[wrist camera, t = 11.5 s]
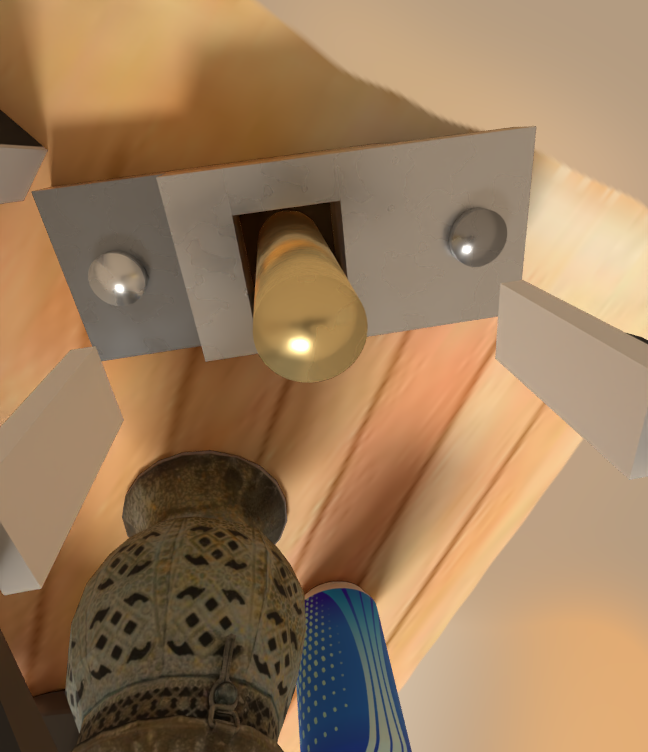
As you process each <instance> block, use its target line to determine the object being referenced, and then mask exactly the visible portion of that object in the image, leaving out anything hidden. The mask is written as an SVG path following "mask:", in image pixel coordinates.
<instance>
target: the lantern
mask: <svg viewBox="0 0 648 752" xmlns="http://www.w3.org/2000/svg"><path fill="white" fill-rule="evenodd" d="M122 518H123V522H124V525H125V529H126V532H127V536H128V537H129V539H128V540H126V541H125V542H124V543H123V544H122V545H120V546H119V547H118V548H117V549H116V550H114V551H113V552H112V553H111V554H110V555H109V556H108V557H107V559H106V560H105V561H104V562H103V564H102V565H101V566H100V567H99V569H98V570H97V571H96V573H95V574H94V575H93V576H92V578H91V579H90V580H89V581H88V583H87V584H86V587H85V589H84V592H83V595H82V597H81V600H80V602H79V605H78V608H77V610H76V613H75V616H74V618H73V621H72V625H71V633H70V642H69V651H68V664H67V676H66V688H65V695H66V697H67V700H68V703H69V706H70V709H71V711H72V714H73V717H74V720H75V722H76V725H77V728H78V731H79V738H78V741H77V745H76V746H75V747H74V748H73V749H72V750H71V752H284V751H283V750H282V749H281V747H280V746H279V745H278V744H277V741H278V737H279V734H280V731H281V729H282V726H283V723H284V720H285V717H286V714H287V711H288V708H289V705H290V703H291V700H292V697H293V694H294V691H295V688H296V683H297V678H298V673H299V668H300V663H301V658H302V653H303V646H304V640H305V633H306V617H305V596H304V591H303V589H302V587H301V585H300V583H299V581H298V579H297V577H296V575H295V573H294V571H293V569H292V567H291V565H290V563H289V562H288V561H287V559H286V558H285V557H284V555H283V554H282V553H281V552H280V550H279V549H278V548H277V547H276V546H275V544H276V543H277V542H278V541H279V539H280V538H281V536H282V533H283V530H284V528H285V525H286V522H287V514H286V499H285V496H284V494H283V493H282V491H281V489H280V487H279V485H278V483H277V481H276V480H275V479H274V478H273V477H272V476H271V475H270V474H269V473H268V472H266V471H265V470H264V469H263V468H262V467H261V466H260V465H257V464H255V463H252V462H250V461H248V460H245V459H243V458H241V457H238V456H235V455H230V454H225V453H221V452H216V451H211V450H209V451H196V452H183V453H180V454H177V455H174V456H172V457H169V458H166V459H163V460H160V461H158V462H156V463H155V464H154V465H152V466H151V467H149V468H148V469H147V470H145V471H144V472H143V473H141V474H140V475H139V476H138V477H137V479H136V480H135V482H134V483H133V485H132V486H131V488H130V489H129V491H128V492H127V494H126V497H125V502H124V509H123V515H122Z"/></svg>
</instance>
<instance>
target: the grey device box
mask: <svg viewBox="0 0 648 752" xmlns="http://www.w3.org/2000/svg"><path fill="white" fill-rule="evenodd" d="M535 134H536V126H534V127H511V128H503V129H496V130H488V131H481V132H473V133H466V134H458V135H451V136H443V137H436V138H428V139H421V140H413V141H406V142H399V143H391V144H380V143H376V144H369V145H361V146H354V147H346V148H339V149H331V150H324V151H317V152H309V153H302V154H294V155H287V156H279V157H272V158H264V159H257V160H249V161H242V162H234V163H227V164H219V165H212V166H204V167H197V168H189V169H182V170H174V171H167V172H159V173H152V174H144V175H137V176H129V177H122V178H114V179H107V180H100V181H92V182H85V183H77V184H70V185H62V186H55V187H49V188H45V189H40V190H36V191H32V195H33V197H34V200H35V202H36V205H37V207H38V210H39V212H40V215H41V218H42V220H43V223H44V225H45V228H46V230H47V233H48V235H49V238H50V240H51V243H52V245H53V248H54V250H55V253H56V256H57V258H58V261H59V263H60V266H61V268H62V271H63V273H64V276H65V278H66V281H67V283H68V286H69V288H70V291H71V294H72V296H73V299H74V301H75V304H76V306H77V309H78V311H79V314H80V316H81V319H82V321H83V324H84V326H85V329H86V332H87V334H88V337H89V339H90V342H91V344H92V347H94V346H96V349H97V352H98V354H99V357H100V359H101V361H106V360H112V359H119V358H125V357H132V356H138V355H145V354H152V353H158V352H165V351H171V350H178V349H184V348H191V347H197V346H201V347H202V350H203V354H204V358H205V362H207V361H213V360H220V359H226V358H233V357H239V356H246V355H252V354H258V352H257V350H256V347H255V344H254V340H253V315H254V298H255V292H254V288H253V283H252V278H251V273H250V267H249V262H248V257H247V252H246V247H245V242H244V237H243V232H242V226H241V221H240V216H239V215H240V214H247V213H255V212H262V211H269V210H276V209H283V208H290V207H298V206H305V205H312V204H319V203H326V202H330V212H331V222H332V231H333V241H334V251H335V258H336V260H337V262H338V264H339V265H340V267H341V269H342V270H343V272H344V274H345V276H346V277H347V279H348V281H349V282H350V284H351V286H352V287H353V289H354V291H355V293H356V294H357V296H358V298H359V299H360V301H361V303H362V305H363V307H364V309H365V313H366V316H367V323H368V331H367V337H368V336H375V335H381V334H388V333H394V332H401V331H407V330H413V329H420V328H426V327H433V326H439V325H446V324H452V323H459V322H465V321H472V320H478V319H485V318H491V317H497V316H498V311H499V296H500V283H506V282H512V281H519V280H522V272H523V261H524V251H525V240H526V230H527V219H528V208H529V198H530V187H531V177H532V166H533V156H534V145H535Z"/></svg>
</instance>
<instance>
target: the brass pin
mask: <svg viewBox="0 0 648 752" xmlns="http://www.w3.org/2000/svg"><path fill="white" fill-rule="evenodd" d="M367 331H368V323H367V316H366V313H365V309H364V307H363V305H362V303H361V301H360V299H359V298H358V296H357V294H356V293H355V291H354V289H353V287H352V286H351V284H350V282H349V281H348V279H347V277H346V276H345V274H344V272H343V270H342V269H341V267H340V265H339V264H338V262H337V260H336V258H335V257H334V255H333V253H332V252H331V250H330V248H329V247H328V245H327V243H326V241H325V240H324V238H323V236H322V235H321V233H320V231H319V229H318V228H317V226H316V225H315V223H314V222H313V221H312V220H311V219H310V218H309V217H308V216H307V215H305V214H303V213H301V212H298V211H294V210H284V211H280V212H277V213H275V214H273V215H272V216H270V217H269V218H268V219H267V220H266V221H265V223H264V224H263V226H262V227H261V230H260V232H259V237H258V250H257V266H256V282H255V298H254V315H253V340H254V344H255V347H256V350H257V352H258V354H259V356H260V357H261V359H262V360H263V362H264V363H265V364H266V365H267V366H268V367H269V368H270V369H271V370H272V371H274V372H275V373H277V374H278V375H280V376H282V377H284V378H287V379H289V380H293V381H297V382H305V383H312V382H320V381H324V380H327V379H330V378H333V377H335V376H337V375H339V374H340V373H342V372H344V371H345V370H346V369H347V368H349V367H350V366H351V365H352V364H353V363H354V362H355V360H356V359H357V358H358V357H359V355H360V353H361V351H362V349H363V347H364V345H365V342H366V338H367Z"/></svg>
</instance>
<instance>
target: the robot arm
mask: <svg viewBox="0 0 648 752" xmlns="http://www.w3.org/2000/svg"><path fill="white" fill-rule="evenodd" d="M495 359H497V360H498V361H499V362H500V363H501V364H502V365H503V366H504V367H505V368H507V369H508V370H509V371H510V372H511V373H512V374H513V375H514V376H515V377H516V378H518V379H519V380H520V381H521V382H522V383H523V384H524V385H525V386H526V387H527V388H529V389H530V390H531V391H532V392H533V393H534V394H535V395H536V396H537V397H538V398H540V399H541V400H542V401H543V402H544V403H545V404H546V405H547V406H548V407H550V408H551V409H552V410H553V411H554V412H555V413H556V414H557V415H558V416H559V417H561V418H562V419H563V420H564V421H565V422H566V423H567V424H568V425H569V426H570V427H572V428H573V429H574V430H575V431H576V432H577V433H578V434H579V435H580V436H582V437H583V438H584V439H585V440H586V441H587V442H588V443H589V444H591V446H593V447H594V448H595V449H596V450H597V451H598V452H599V453H600V454H601V455H602V456H604V457H605V458H606V459H607V460H608V461H609V462H610V463H611V464H612V465H613V466H615V467H616V468H617V469H618V470H619V471H620V472H621V473H623V475H625V476H626V477H627V478H628V479H629V480H631V479H636V478H641V477H647V476H648V340H646V339H644V338H642V337H639V336H635V335H632V334H628V333H625V332H623V331H621V330H619V329H617V328H615V327H613V326H611V325H609V324H607V323H605V322H603V321H601V320H600V319H598V318H596V317H594V316H592V315H590V314H588V313H586V312H584V311H582V310H580V309H578V308H576V307H574V306H572V305H570V304H569V303H567V302H565V301H563V300H561V299H559V298H557V297H555V296H553V295H551V294H549V293H547V292H545V291H543V290H541V289H539V288H537V287H536V286H534V285H532V284H530V283H528V282H526V281H524V280H519V281H512V282H506V283H500V296H499V311H498V326H497V341H496V356H495ZM123 420H124V419H123V416H122V414H121V411H120V409H119V406H118V404H117V401H116V398H115V396H114V393H113V391H112V388H111V385H110V383H109V380H108V378H107V375H106V372H105V370H104V367H103V365H102V362H101V359H100V357H99V354H98V352H97V349H96V346H94V347H87V348H81V349H74V350H70V351H69V352H68V353H67V354H66V355H65V357H64V358H63V359H62V360H61V361H60V362H59V363H58V364H57V365H56V366H55V368H54V369H53V370H52V371H51V372H50V373H49V374H48V375H47V376H46V377H45V379H44V380H43V381H42V382H41V383H40V384H39V385H38V386H37V387H36V388H35V389H34V391H33V392H32V393H31V394H30V395H29V396H28V397H27V398H26V399H25V400H24V402H23V403H22V404H21V405H20V406H19V407H18V408H17V409H16V410H15V411H14V413H13V414H12V415H11V416H10V417H9V418H8V419H7V420H6V421H5V422H4V423H3V425H2V426H1V427H0V590H1V592H2V593H3V594H4V595H9V594H15V593H20V592H26V591H31V590H36V589H41V588H42V586H43V584H44V582H45V580H46V578H47V576H48V574H49V572H50V570H51V568H52V566H53V564H54V562H55V560H56V558H57V556H58V554H59V552H60V549H61V547H62V545H63V543H64V541H65V539H66V537H67V535H68V533H69V531H70V529H71V527H72V525H73V523H74V521H75V519H76V517H77V515H78V513H79V511H80V509H81V506H82V504H83V502H84V500H85V498H86V496H87V494H88V492H89V490H90V488H91V486H92V484H93V482H94V480H95V478H96V476H97V474H98V472H99V470H100V468H101V465H102V463H103V461H104V459H105V457H106V455H107V453H108V451H109V449H110V447H111V445H112V443H113V441H114V439H115V437H116V435H117V433H118V431H119V429H120V427H121V425H122V422H123ZM78 738H79V731H78V728H77V725H76V722H75V720H74V717H73V714H72V711H71V709H70V706H69V703H68V700H67V697H66V695H65V691H58V692H52V693H47V694H43V695H40V696H37V697H34V698H33V697H32V695H31V693H30V691H29V688H28V686H27V684H26V682H25V680H24V678H23V676H22V674H21V672H20V669H19V667H18V665H17V663H16V661H15V659H14V657H13V655H12V653H11V650H10V648H9V646H8V644H7V642H6V640H5V638H4V636H3V633H2V631H1V629H0V752H71V750H72V749H73V748H74V747H75V746H76V745H77V741H78Z"/></svg>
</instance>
